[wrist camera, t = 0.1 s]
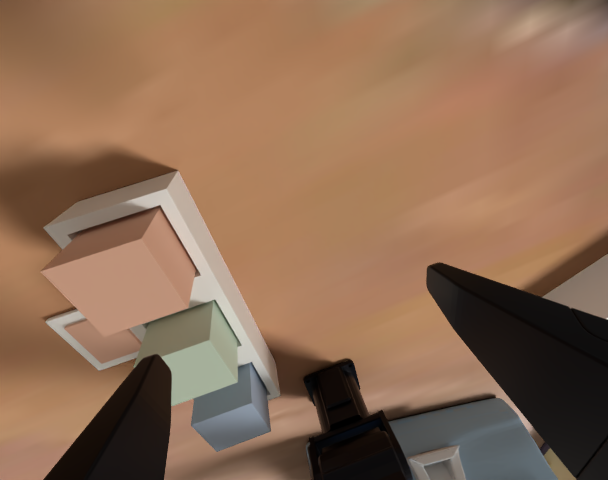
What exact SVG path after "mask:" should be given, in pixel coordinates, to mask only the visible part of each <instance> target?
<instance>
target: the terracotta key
mask: <svg viewBox="0 0 608 480" xmlns="http://www.w3.org/2000/svg"><path fill="white" fill-rule="evenodd" d="M40 272H41V273H42V274H43V275H44V276H45V277H46V278H47V279H48V280H49V281H50V282H51V283H52V284H53V285H54V286H55V287H56V288H57V289H58V290H59V291H60V292H61V293H62V294H63V295H64V296H65V297H66V298H67V299H68V300H69V301H70V302H71V303H72V304H73V305H74V306H75V307H76V308H77V309H78V310H79V311H80V313H81V314H82V315H83V316H84V317H85V318H86V319H87V320H88V321H89V322H90V323H91V324H92V325H93V326H94V327H95V328H96V329H97V330H98V331H99V332H100V333H101V334H102V335H103V336H104V337H105V336H108V335H111V334H114V333H117V332H120V331H123V330H126V329H129V328H132V327H134V326H137V325H140V324H143V323H146V322H149V321H152V320H155V319H158V318H161V317H164V316H166V315H169V314H172V313H175V312H178V311H181V310H184V309H187V308H188V306H189V301H190V296H191V291H192V286H193V281H194V277H195V272H196V266H195V264H194V262H193V260H192V259H191V257H190V255H189V254H188V252H187V250H186V248H185V247H184V245H183V243H182V241H181V240H180V238H179V236H178V235H177V233H176V231H175V229H174V228H173V226H172V224H171V223H170V221H169V219H168V217H167V216H166V214H165V212H164V211H163V209H162V207H161V205H159V206H156V207H152V208H149V209H146V210H143V211H140V212H137V213H134V214H130V215H127V216H124V217H121V218H118V219H115V220H112V221H109V222H105V223H102V224H99V225H96V226H93V227H90V228H87V229H84V230H82V231H81V232H80V233H79V234H78V235H77V236H76V237H75V238H74V239H73V240H72V241H71V242H70V243H69V244H68V245H67V246H66V247H65V248H64V249H63V250H62V251H61V252H60V253H59V254H58V255H57V256H56V257H55V258H54V259H53V260H52V261H51V262H50V263H49V264H48V265H47V266H45V267H44V268H43V269H42V270H41V271H40Z"/></svg>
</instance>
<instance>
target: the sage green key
mask: <svg viewBox="0 0 608 480" xmlns="http://www.w3.org/2000/svg"><path fill="white" fill-rule="evenodd" d="M153 354H158V355H160V356H161V358H162V359H163V360H164V361H165V363H166V364H167V365H168V367H169V368H170V370H171V373H172V392H171V405H172V406H174V405H177V404H180V403H182V402H185V401H188V400H191V399H193V398H196V397H199V396H202V395H204V394H207V393H210V392H213V391H215V390H218V389H221V388H224V387H226V386H229V385H232V384H235V383H237V382H238V350H237V336H236V334H235V332H234V331H233V329H232V327H231V326H230V324H229V322H228V320H227V319H226V317H225V315H224V314H223V312H222V310H221V308H220V307H219V305H218V303H217V302H216V300H212V301H209V302H206V303H203V304H200V305H197V306H194V307H191V308H188V309H185V310H183V311H180V312H177V313H174V314H171V315H168V316H165V317H162V318H159V319H156V320H153V321H151V322H149V325H148V327H147V330H146V333H145V336H144V339H143V341H142V344H141V347H140V350H139V353H138V356H137V358H136V361H135V364H134V368H135V367H136V365H137V364H138V363H139V362H140V361H141V360H142V359H143V358H144V357H147V356H150V355H153Z"/></svg>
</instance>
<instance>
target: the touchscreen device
mask: <svg viewBox="0 0 608 480" xmlns="http://www.w3.org/2000/svg"><path fill="white" fill-rule="evenodd" d="M388 423H389V425H390V427H391V429H392V431H393V432H394V434H395V436H396V438H397V440H398V442H399V444H400V446H401V449H402V451H403V453H404V455H405V458H406V460H407V463H408V465H409V468H410V471H411V473H412V477H413V480H558V478H557V477H556V475H555V474H554V472H553V471H552V470H551V468H550V466H549V465H548V463H547V461H546V460H545V458H544V456H543V455H542V453H541V451H540V449H539V448H538V446H537V444H536V443H535V441H534V440H533V438H532V436H531V435H530V433H529V432H528V430H527V429H526V428H525V426H524V425H523V423H522V421H521V420H520V418H519V416H518V415H517V414H516V413H515V411H514V410H513V409H512V408H511V407H510V406H509V405H508V404H507V403H506V402H505V401H503V400H502V399H500V398H493V399H486V400H481V401H476V402H472V403H467V404H463V405H458V406H454V407H449V408H445V409H440V410H436V411H432V412H427V413H423V414H419V415H414V416H410V417H406V418H401V419H397V420H393V421H389V422H388ZM309 445H310V442H308V443H307V444H306V451H307V458H308V464H309V470H310V476H311V466H310V460H309V454H308V450H307V447H308V446H309ZM311 480H312V479H311Z"/></svg>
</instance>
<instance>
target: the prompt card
mask: <svg viewBox="0 0 608 480" xmlns="http://www.w3.org/2000/svg"><path fill="white" fill-rule="evenodd" d="M46 323H47V324H48V325H49V326H50V327H51V328H52V329H53V330H54V331H55V332H57V333H58V334H59V335H60V336H61V337H62V338H63V339H64V340H65V341H67V342H68V343H69V344H70V345H71V346H72V347H73V348H74V349H75V350H77V351H78V352H79V353H80V354H81V355H82V356H83V357H84V358H85V359H86V360H88V361H89V362H90V363H91V364H92V365H93V366H94V367H95V368H96V369H98V370H99V371H100V370H103V369H106V368H109V367H112V366H115V365H117V364H120V363H123V362H126V361H129V360H132V359H135V358H137V356H138V353H139V350H140V347H141V344H142V340H141V339H140V338H139V336H138V335H137V334H136V333H135V332H134V331H133V330H132V328H129V329H126V330H123V331H120V332H117V333H114V334H111V335H108V336H105V337H104V336H103V335H102V334H101V333H100V332H99V331H98V330H97V329H96V328H95V327H94V326H93V325H92V324H91V323H90V322H89V321H88V320H87V319H86V318H85V317H84V316H83V315H82V314H81V313H80V311H79V310H78V309H75V310H72V311H69V312H66V313H63V314H60V315H57V316H54V317H51V318H48V319H47V320H46Z"/></svg>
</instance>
